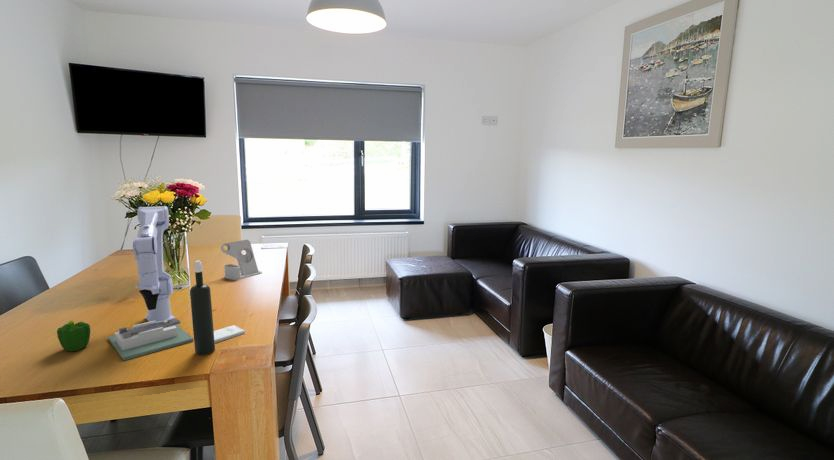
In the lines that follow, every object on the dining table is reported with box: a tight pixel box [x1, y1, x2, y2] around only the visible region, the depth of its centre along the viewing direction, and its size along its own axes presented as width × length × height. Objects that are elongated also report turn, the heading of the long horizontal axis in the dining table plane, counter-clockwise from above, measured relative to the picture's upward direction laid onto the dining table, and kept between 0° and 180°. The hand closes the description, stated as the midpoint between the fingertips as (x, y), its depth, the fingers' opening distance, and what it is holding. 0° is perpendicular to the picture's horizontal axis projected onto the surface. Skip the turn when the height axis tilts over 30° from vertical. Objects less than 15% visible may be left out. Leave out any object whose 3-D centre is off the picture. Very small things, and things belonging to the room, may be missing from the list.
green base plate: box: [107, 320, 194, 361], centre depth 144 cm, size 22×20×6 cm
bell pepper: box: [56, 320, 91, 352], centre depth 137 cm, size 8×8×10 cm
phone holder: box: [220, 239, 263, 281], centre depth 224 cm, size 17×10×18 cm, turn 147°
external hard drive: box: [214, 324, 246, 344], centre depth 149 cm, size 2×8×12 cm
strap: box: [122, 317, 181, 335], centre depth 145 cm, size 16×4×1 cm, turn 136°
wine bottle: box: [189, 260, 216, 356], centre depth 134 cm, size 6×6×30 cm
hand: (151, 309), depth 148 cm, fingers closed
